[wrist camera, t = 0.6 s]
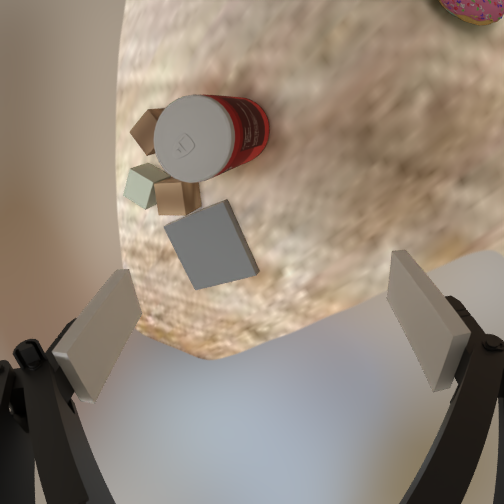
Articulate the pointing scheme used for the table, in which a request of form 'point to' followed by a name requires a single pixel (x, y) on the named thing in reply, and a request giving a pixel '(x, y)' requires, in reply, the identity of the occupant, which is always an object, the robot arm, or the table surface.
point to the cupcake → (475, 10)
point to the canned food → (209, 135)
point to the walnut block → (146, 130)
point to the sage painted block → (143, 184)
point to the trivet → (212, 246)
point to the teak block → (177, 197)
